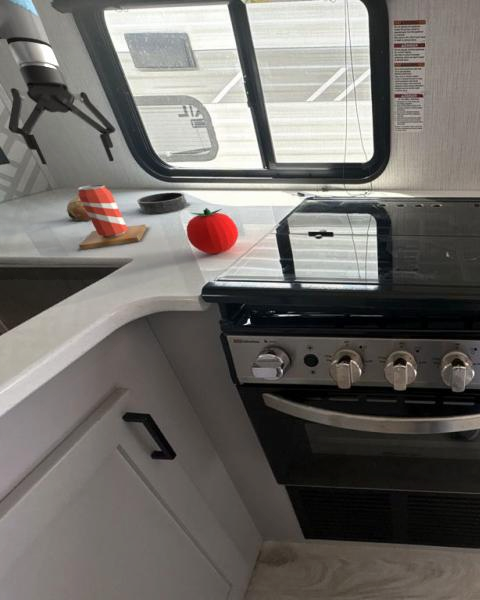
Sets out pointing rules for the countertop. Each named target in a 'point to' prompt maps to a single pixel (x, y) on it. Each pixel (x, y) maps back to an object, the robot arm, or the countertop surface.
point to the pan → (162, 203)
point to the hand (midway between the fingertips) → (79, 162)
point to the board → (113, 238)
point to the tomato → (212, 232)
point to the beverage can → (102, 210)
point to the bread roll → (77, 210)
